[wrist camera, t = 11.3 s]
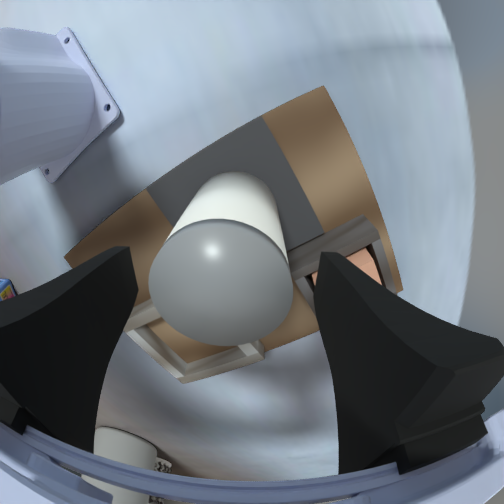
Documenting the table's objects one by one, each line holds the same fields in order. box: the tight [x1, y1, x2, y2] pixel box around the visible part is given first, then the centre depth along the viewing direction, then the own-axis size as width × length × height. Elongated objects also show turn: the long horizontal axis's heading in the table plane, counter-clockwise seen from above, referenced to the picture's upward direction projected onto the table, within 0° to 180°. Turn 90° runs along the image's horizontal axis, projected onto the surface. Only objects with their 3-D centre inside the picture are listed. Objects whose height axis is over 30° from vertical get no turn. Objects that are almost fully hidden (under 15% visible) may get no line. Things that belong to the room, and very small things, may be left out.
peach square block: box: [311, 247, 382, 285], centre depth 17 cm, size 4×4×3 cm
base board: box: [64, 86, 403, 384], centre depth 18 cm, size 16×22×4 cm
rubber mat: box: [146, 116, 325, 252], centre depth 16 cm, size 8×8×1 cm
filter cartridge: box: [148, 171, 293, 346], centre depth 13 cm, size 5×5×8 cm
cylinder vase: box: [81, 427, 157, 504], centre depth 28 cm, size 12×12×25 cm
